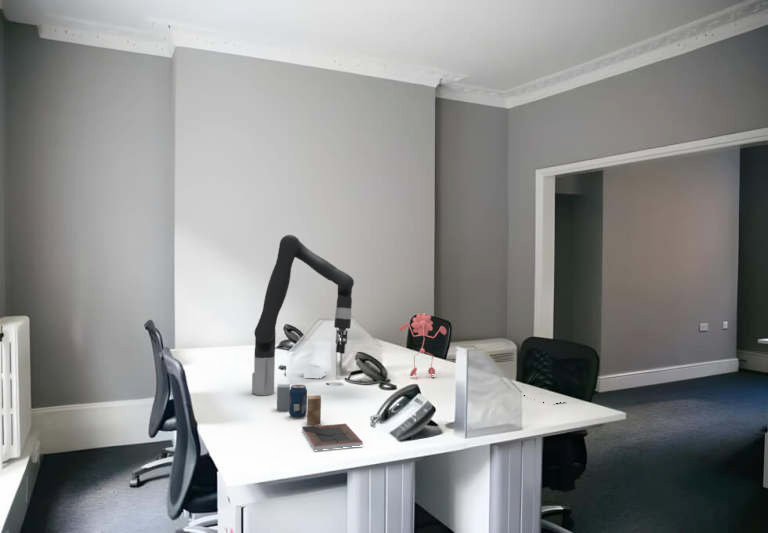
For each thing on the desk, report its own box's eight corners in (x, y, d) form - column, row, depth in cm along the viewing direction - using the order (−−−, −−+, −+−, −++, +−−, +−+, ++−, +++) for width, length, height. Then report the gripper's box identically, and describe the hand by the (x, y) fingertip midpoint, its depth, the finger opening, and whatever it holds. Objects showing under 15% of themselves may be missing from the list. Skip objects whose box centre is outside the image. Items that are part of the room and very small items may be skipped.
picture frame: (301, 433, 197) (314, 453, 177) (302, 426, 197) (314, 445, 177) (345, 429, 203) (362, 448, 182) (345, 422, 203) (362, 441, 182)
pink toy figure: (448, 379, 291) (448, 314, 291) (401, 380, 286) (402, 314, 286) (439, 373, 306) (440, 311, 306) (394, 375, 301) (395, 312, 301)
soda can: (291, 413, 220) (291, 383, 220) (308, 413, 220) (308, 384, 220) (287, 418, 213) (288, 387, 213) (304, 418, 213) (305, 388, 213)
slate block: (276, 411, 222) (277, 387, 222) (277, 408, 227) (277, 384, 227) (289, 411, 223) (289, 387, 223) (289, 408, 228) (289, 384, 228)
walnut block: (307, 425, 205) (307, 398, 205) (307, 421, 210) (307, 395, 210) (320, 424, 206) (321, 398, 206) (320, 421, 211) (320, 395, 210)
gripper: (332, 317, 259) (329, 351, 257) (337, 317, 245) (334, 353, 243) (347, 318, 261) (345, 352, 258) (354, 318, 247) (351, 354, 245)
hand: (340, 353), depth 251 cm, fingers open, 8 cm apart
